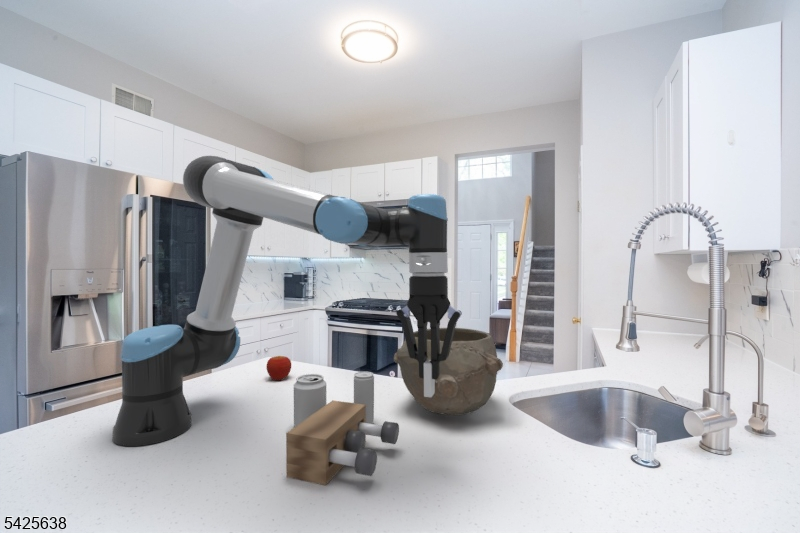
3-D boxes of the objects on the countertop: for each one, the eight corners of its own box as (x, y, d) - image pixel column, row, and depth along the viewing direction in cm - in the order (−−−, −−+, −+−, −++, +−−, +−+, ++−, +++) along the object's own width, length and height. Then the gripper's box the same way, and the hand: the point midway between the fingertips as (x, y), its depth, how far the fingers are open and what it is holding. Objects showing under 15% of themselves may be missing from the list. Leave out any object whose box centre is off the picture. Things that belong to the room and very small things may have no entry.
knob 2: (312, 469, 68) (312, 447, 68) (323, 458, 71) (323, 437, 71) (368, 480, 64) (368, 457, 64) (377, 468, 68) (377, 446, 68)
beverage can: (363, 418, 95) (363, 370, 94) (378, 423, 91) (378, 373, 91) (349, 424, 91) (349, 374, 91) (363, 430, 88) (363, 378, 88)
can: (318, 436, 85) (318, 383, 84) (287, 433, 86) (287, 380, 86) (331, 422, 92) (331, 373, 92) (302, 420, 93) (302, 371, 93)
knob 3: (343, 439, 79) (343, 420, 79) (351, 431, 83) (351, 413, 83) (392, 447, 75) (392, 427, 75) (399, 438, 79) (399, 419, 79)
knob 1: (306, 449, 75) (306, 428, 75) (317, 440, 79) (317, 420, 79) (356, 458, 71) (356, 437, 71) (365, 448, 75) (365, 428, 75)
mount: (286, 477, 69) (286, 432, 69) (332, 436, 85) (332, 400, 85) (325, 485, 66) (325, 439, 66) (365, 441, 82) (365, 404, 82)
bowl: (379, 399, 108) (379, 328, 107) (465, 386, 119) (465, 322, 119) (422, 440, 83) (422, 348, 82) (526, 419, 94) (526, 338, 94)
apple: (296, 377, 127) (296, 354, 127) (277, 384, 121) (277, 359, 121) (280, 374, 132) (280, 351, 131) (261, 380, 125) (261, 356, 125)
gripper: (390, 275, 73) (391, 397, 73) (457, 275, 69) (459, 405, 69) (402, 274, 80) (403, 385, 81) (464, 274, 76) (465, 391, 76)
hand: (429, 394), depth 75 cm, fingers closed
